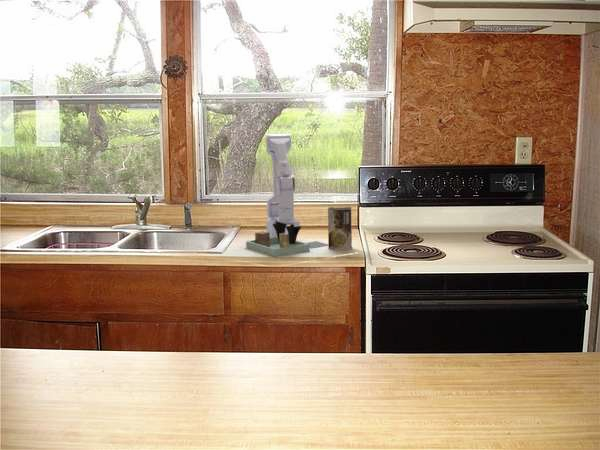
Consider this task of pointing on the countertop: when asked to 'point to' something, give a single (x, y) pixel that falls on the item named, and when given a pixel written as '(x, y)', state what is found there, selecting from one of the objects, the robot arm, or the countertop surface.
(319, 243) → the mat
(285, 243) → the oak block
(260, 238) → the walnut block
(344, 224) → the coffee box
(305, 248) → the bin
